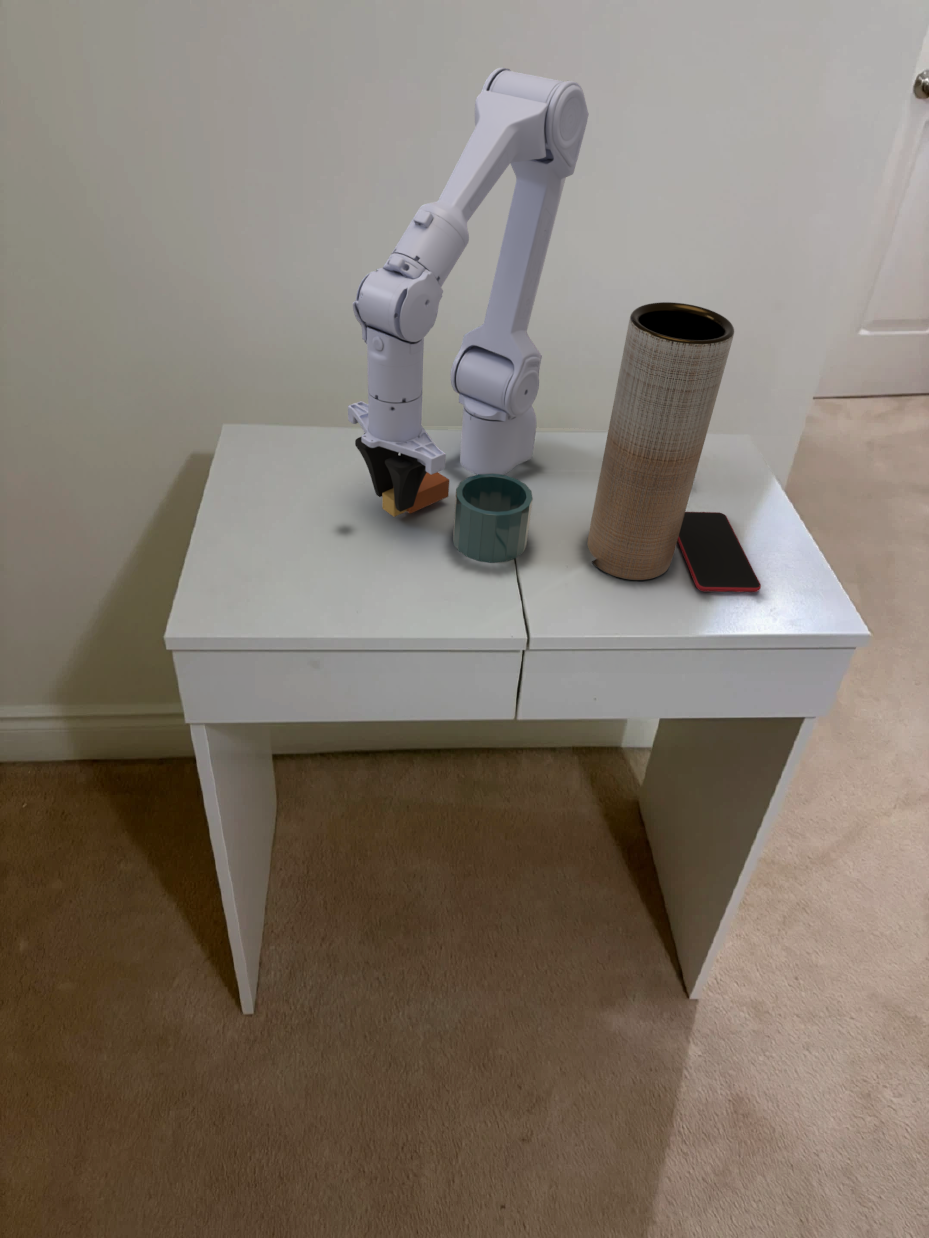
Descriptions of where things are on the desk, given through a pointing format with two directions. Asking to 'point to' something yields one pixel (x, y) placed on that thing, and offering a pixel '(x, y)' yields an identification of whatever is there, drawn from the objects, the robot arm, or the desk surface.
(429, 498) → the tan orange collared block
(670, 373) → the vase
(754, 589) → the smartphone
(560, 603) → the desk surface
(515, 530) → the cup
